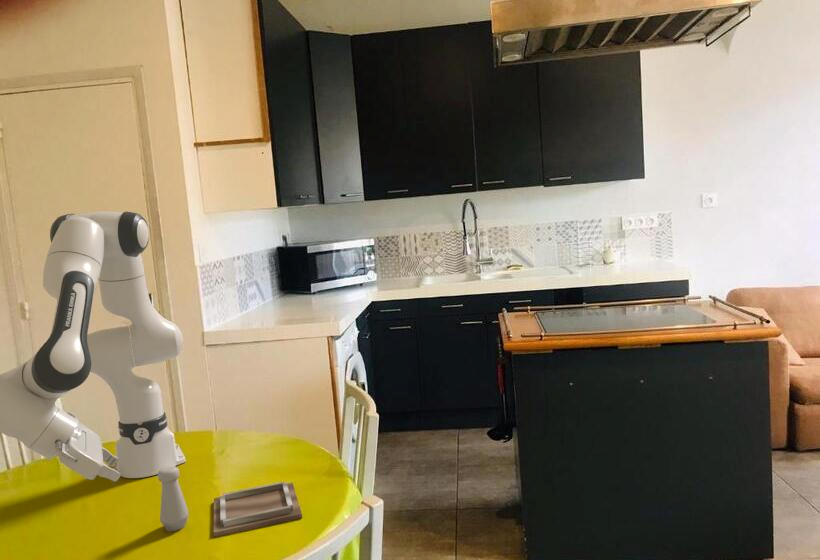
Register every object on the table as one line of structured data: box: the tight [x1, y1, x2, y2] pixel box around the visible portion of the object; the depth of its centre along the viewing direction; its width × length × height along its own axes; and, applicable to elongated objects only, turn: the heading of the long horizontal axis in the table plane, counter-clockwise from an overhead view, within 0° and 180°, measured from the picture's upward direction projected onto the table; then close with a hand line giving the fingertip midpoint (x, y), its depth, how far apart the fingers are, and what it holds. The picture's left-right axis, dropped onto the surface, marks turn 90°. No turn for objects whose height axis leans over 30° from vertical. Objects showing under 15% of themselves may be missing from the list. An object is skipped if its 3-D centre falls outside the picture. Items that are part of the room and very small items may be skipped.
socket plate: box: [213, 481, 303, 538], centre depth 149 cm, size 18×18×2 cm
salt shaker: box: [157, 466, 189, 532], centre depth 144 cm, size 6×6×13 cm
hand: (117, 470), depth 138 cm, fingers open, 8 cm apart
